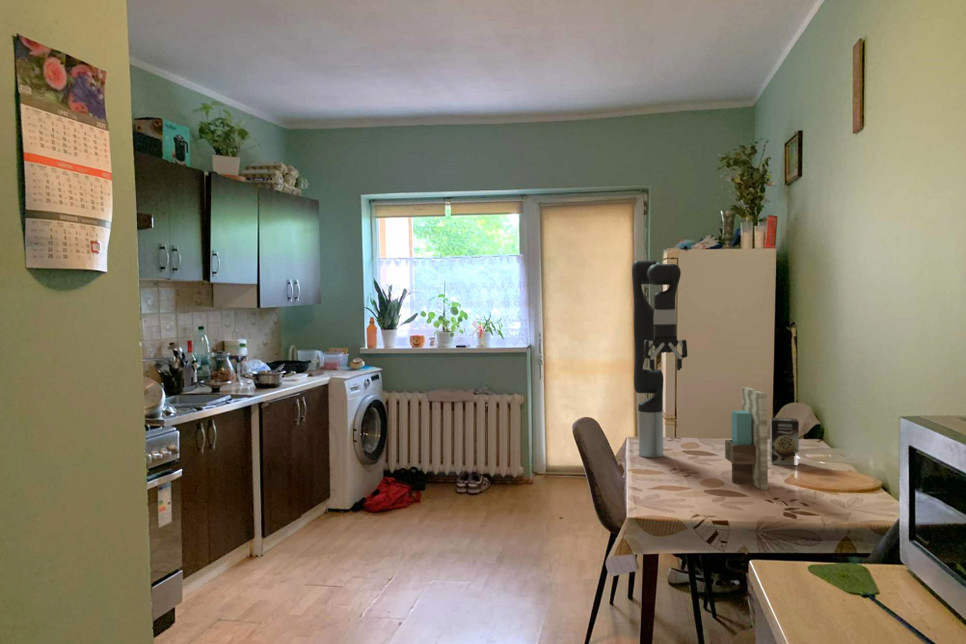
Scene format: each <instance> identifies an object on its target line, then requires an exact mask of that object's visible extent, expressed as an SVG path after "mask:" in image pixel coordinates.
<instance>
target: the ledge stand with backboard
mask: <svg viewBox="0 0 966 644" xmlns="http://www.w3.org/2000/svg"><path fill="white" fill-rule="evenodd" d="M741 411H747V412H749V413H751V445H735V444H733V443H732V439H725V440H724V450H725V451H724V454H725V455H724V457H725V459H726V460H727V461H728V462H730V463H731V482H732V483H733V484H753V485H754V486H755V485H756V486H755V487H757V489H759V490H760V491H768V490H769V488H768V487H769V484H768V483H769V482H768V481H769V480H768V479H769V478H768V474H769V473H768V472H769V471H768V465H769V464H768V394H767V393H765V392H763V391H759V390H758V389H755V388H751V387H750V386H742V387H741Z"/></svg>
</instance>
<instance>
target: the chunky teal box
mask: <svg viewBox="0 0 966 644" xmlns="http://www.w3.org/2000/svg"><path fill="white" fill-rule="evenodd" d="M731 440H732V443H733V444H735V445H751V413H749V412H747V411H742V410H731Z"/></svg>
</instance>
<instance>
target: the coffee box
mask: <svg viewBox="0 0 966 644" xmlns="http://www.w3.org/2000/svg"><path fill="white" fill-rule="evenodd" d="M769 419H770V424H769V425H770V426H769V428H770V430H769V431H770V435H769V436H770V437H769V438H770V439H769V441H770V443H769V447H770V448H769V459H770V464H771V465H774V464H777V466H790V465H793V466H794V456H795V454H796V453H797V452H799V451H800V449H799V448H800V447H799V442H800V441H799V438H800V437H799V435H800V434H799V433H800V431H799V430H800V429H799V427H800V425H799V422H800V421H799V420H798V419H797V418H787V417H784V418H783V417H782V418H780V417H770V418H769ZM799 453H800V452H799ZM794 467H795V466H794Z"/></svg>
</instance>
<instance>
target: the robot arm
mask: <svg viewBox="0 0 966 644" xmlns="http://www.w3.org/2000/svg"><path fill="white" fill-rule="evenodd" d="M631 267H632V268H631V273H632V274H631V278H632V290H633V336H634V338H633V339H634V366H633V368H634V369H633V384H634V385H633V386H634V390H635V393H637V394H652V396H651V397H650V398H647V399H646V400H644V401H641V402H639V403H638V405H637V409H638V411H637V412H638V415H637V416H638V418H637V419H638V421H637V422H638V455H639V456H641V457H644V458H660V457H664V409H663V407H664V406H663V405H664V400H663V399H664V374H663V371H662V370H661V369H659V368H658V369H657V368H656V369H655V367H656V366H655V358H656V356H658V354H659V353H661V354H663V353H668V354H669V353H673V355H674V356H675V357H676V370H677V371H681V369H682V368H683V359H685V358H687V357H689V356H688V355H689V354H688V345H687V342H688V341H687V339H683V338H682V339H680V340H679V339H678V338H677V336H678V335H677V323H678V321H677V313H676V312H677V311H676V309H677V308H676V295H677V290H678V286H679V282H680V279H681V275H682V274H681V273H682V272H681V268H680V267H679V265H678V264H675V263H661V261H659V260H653V259H652V260H651V259H650V260H635V261H634V262H633V263H632V266H631ZM642 285H653V286H667V285H668V287H667V289H665V290H663V291H658V292H656V293H655V294H654V297H653V305H654V306H653V307H654V308H653V307H652V305H651V304H650V303H649V301H648V300H647V297H646V296H645V293H644V291H643V286H642ZM678 344H679V346H680V347H681V352H682V353H680V352H679V351H678V350H677V348H676V347H677V346H678ZM653 346H654V348H653ZM652 348H653V350H652V352H651V353H650V351H651V349H652ZM649 353H650V354H649ZM646 359H648V360H649V369H648V368H647V369H644V364H645V361H646Z"/></svg>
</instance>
